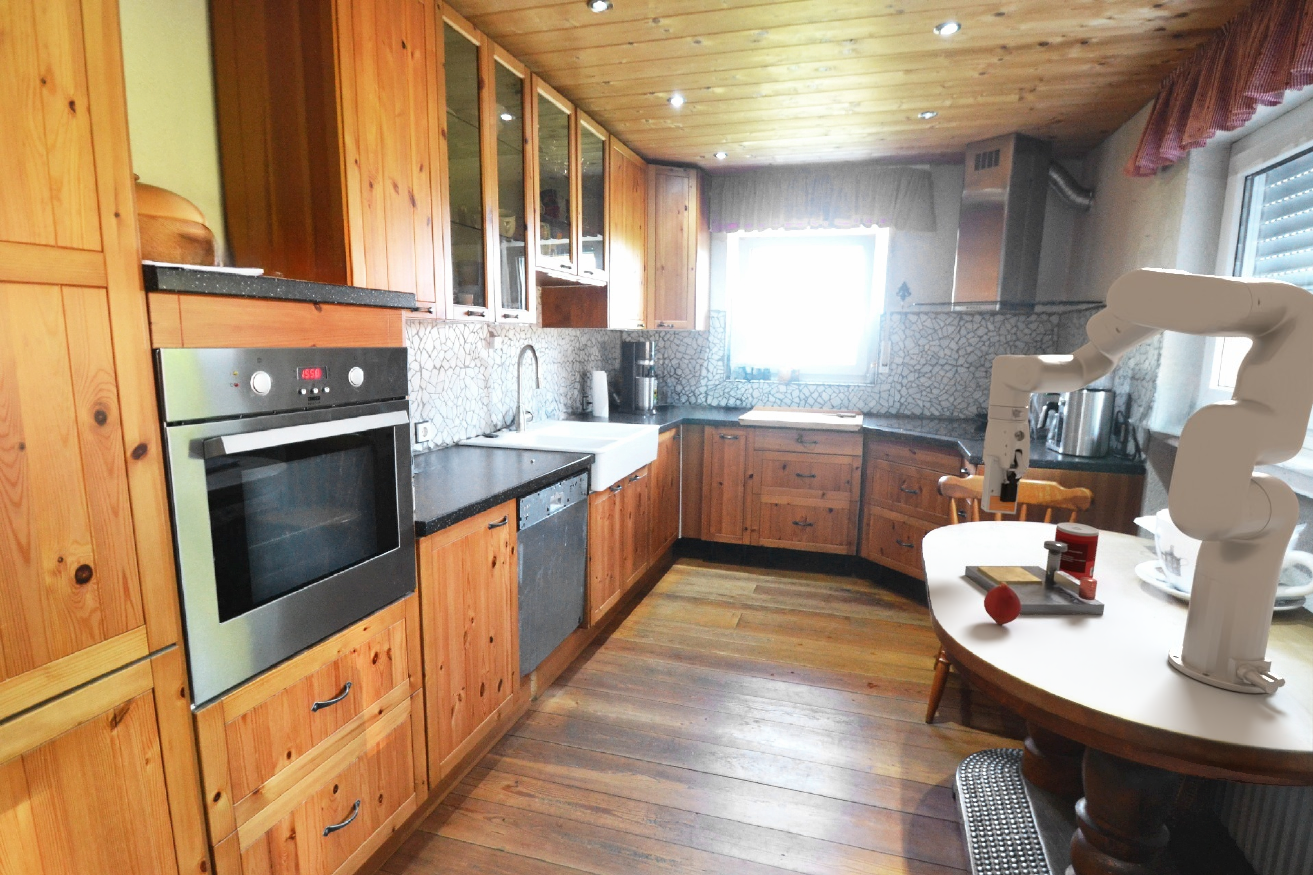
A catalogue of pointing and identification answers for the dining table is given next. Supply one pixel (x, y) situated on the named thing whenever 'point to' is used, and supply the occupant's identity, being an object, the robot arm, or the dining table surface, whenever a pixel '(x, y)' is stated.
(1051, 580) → the press bed
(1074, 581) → the lever
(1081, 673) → the dining table surface
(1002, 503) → the skincare box
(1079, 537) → the canned food
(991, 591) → the onion
